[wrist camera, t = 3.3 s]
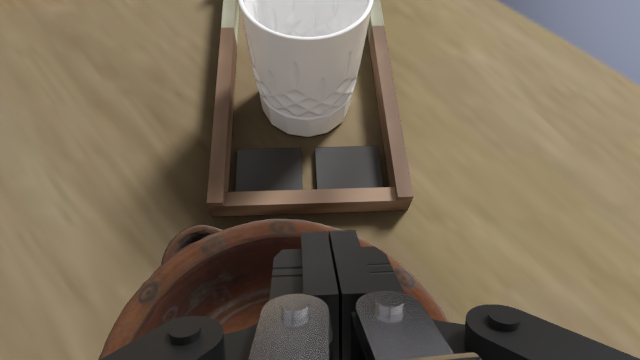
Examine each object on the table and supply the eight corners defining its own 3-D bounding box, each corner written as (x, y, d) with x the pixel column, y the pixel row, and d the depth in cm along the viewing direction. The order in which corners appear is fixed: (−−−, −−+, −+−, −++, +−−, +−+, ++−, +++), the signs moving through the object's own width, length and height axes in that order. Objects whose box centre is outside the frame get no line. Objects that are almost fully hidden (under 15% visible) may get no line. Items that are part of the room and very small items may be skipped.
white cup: (243, 135, 33) (221, 28, 25) (266, 58, 37) (254, -59, 28) (350, 151, 33) (366, 48, 24) (362, 71, 37) (379, -43, 28)
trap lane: (212, 216, 30) (203, 195, 27) (229, -17, 42) (224, -48, 39) (407, 210, 31) (416, 188, 28) (370, -18, 42) (375, -48, 40)
